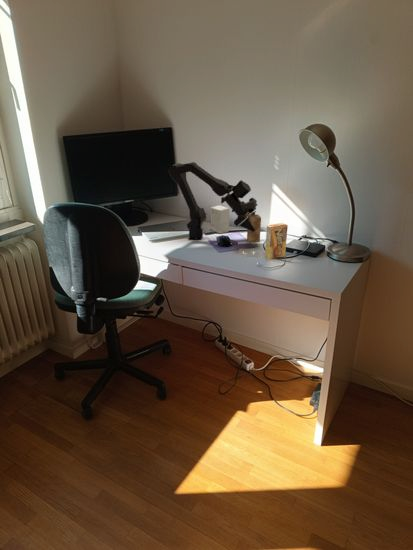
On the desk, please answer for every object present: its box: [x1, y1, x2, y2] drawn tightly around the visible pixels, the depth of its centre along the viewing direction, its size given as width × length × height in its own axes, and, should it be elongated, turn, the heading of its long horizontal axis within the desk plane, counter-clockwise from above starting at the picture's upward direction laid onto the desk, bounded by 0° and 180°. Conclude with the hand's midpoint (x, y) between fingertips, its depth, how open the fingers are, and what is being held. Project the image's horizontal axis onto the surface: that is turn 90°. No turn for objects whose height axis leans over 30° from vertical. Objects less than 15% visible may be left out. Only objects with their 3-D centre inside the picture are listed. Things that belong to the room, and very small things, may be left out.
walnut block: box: [246, 214, 262, 244], centre depth 203 cm, size 5×5×12 cm
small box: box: [210, 204, 230, 234], centre depth 224 cm, size 8×6×13 cm
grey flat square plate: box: [237, 248, 261, 258], centre depth 198 cm, size 10×10×1 cm
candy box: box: [264, 222, 289, 260], centre depth 191 cm, size 9×4×15 cm, turn 116°
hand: (256, 228), depth 202 cm, fingers closed on walnut block, 7 cm apart
